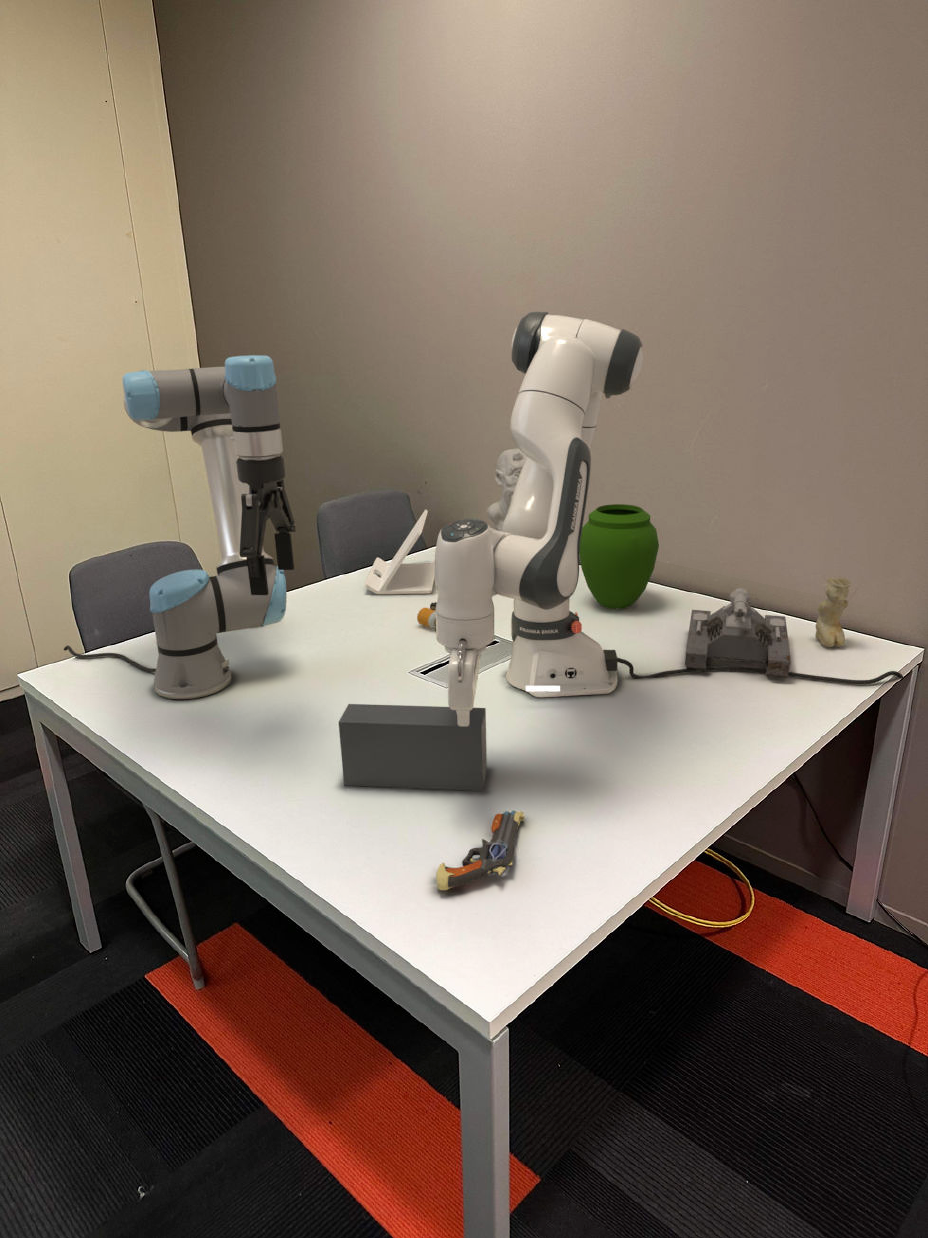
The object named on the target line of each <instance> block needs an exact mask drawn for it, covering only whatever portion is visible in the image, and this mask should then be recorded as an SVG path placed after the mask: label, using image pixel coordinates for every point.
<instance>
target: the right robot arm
mask: <svg viewBox="0 0 928 1238" xmlns="http://www.w3.org/2000/svg"><path fill="white" fill-rule="evenodd" d="M510 344H511V345H510V352H511V362H512V363H513V365H514V367H515V369H516V370H517V371H519V372H521V373H522V374H524V378H522V379H523V380H522V382H521V384H520V388H519V390H518V393H517V395H516V399H515V401H514V405H513V408H512V412H511V416H510V424H509V425H510V426H509V430H510V434H511V437H512V439H513V442H514V443H515V445H516V447H517V449H520V450H521V451H522V452H523V453H524V454H525V455H526V459H525V462H524V465H523V467H522V470H521V473H520V476H519V478H518V481H517V484H516V487H515V490H514V493H513V496H512V499H511V502H510V506H509V509H508V512H507V515H506V517H505V520H504V523H503V529H502V531H503V532H501V531H497V529H494V528H492V527H490V525H489V524H488V522H486V521H484V520H482V519H477V518H463V519H457V520H454V521H451V522H449V523H447V524H446V525H444V526H443V527H442V528H441V529H440V530H439V533H438V535H437V538H436V539H437V540H436V543H435V544H436V545H435V552H434V563H435V579H434V585H435V589H436V592H437V601H436V602H437V604H436V610H435V611H436V628H435V631H436V632H435V633H436V634H435V636H436V637H435V638H436V641H437V643H439V644H440V645H441V646H444V650H445V652H446V653H448V654H449V659H448V660H449V661H448V668H447V669H448V670H447V671H448V672H447V680H448V681H447V703H448V707H449V708H450V709H451V710H456V713H457V721H458V725H459V726H469V723H470V710H472V709H473V708H474V707H475V705H474V704H475V698H476V694H477V693H476V692H477V685H478V679H479V672H480V666H481V659H482V654H483V653H484V652H485V651H486V650H487V646H488V645H491V643H493V642H494V640H495V604H494V600H493V597H494V596H497V595H498V596H501V597H505V598H508V599H513V611H512V612H511V618H510V635H511V640H512V645H511V646H512V647H511V655H510V660H509V665H508V669H507V672H506V675H505V678H506V681H507V683H509V684H510V685H511V686H513V687H515V688H517V689H519V690H522V691H525V692H527V693H529V694H530V695H531V696H533V697H535V698H556V697H572V696H573V697H574V696H588V695H589V696H590V695H591V696H592V695H607V694H611V693H612V692H613V691H615V690H616V688H617V686H618V673H617V671H618V663H620V664H623V665H625V666H627V667H628V669H629V676H630V677H631V678H633V679H635V680H639V679H640V680H642V679H655V678H656V679H657V678H659V677H664V676H670V675H680V674H685V673H693V672H699V671H698V670H695V669H692V668H687V667H685V668H680V669H673V670H664V671H660V672H657V673H656V672H655V673H653V674H648V675H638V674H636V673H635V671H634V670H635V668H634V665H633V664H632V662H630V661H628V660H626V659H623V658H621V657H618V655H617V652H616V651H617V650H616V649H604V648H603V647H602V645H601V644H600V643H599V642H598V641H596V640H595V639H593V638H591V637H590V636H589V635H587V634H586V633H585V632H583V631H582V630H583V626H582V625H583V624H582V622H581V621H580V616H579V615H578V612H577V611H575V613H574V612H573V611H571V610H570V600H571V599H570V598H571V597H572V596H573V595H574V593H575V591H576V589H577V585H578V583H579V578H580V554H579V549H580V541H581V534H582V527H583V526H584V521H585V515H586V514H585V513H586V508H587V507H586V506H587V500H588V493H589V486H590V478H591V469H592V468H591V467H592V456H591V448H592V443H593V440H594V438H595V437H594V436H595V433H596V429H597V426H598V421H599V417H600V412H601V407H602V398H603V395H604V396H605V399H610V398H611V396H612V397H613V396H620V395H623V394H625V393H626V392H628V391H630V390H631V387H632V386H633V385H634V383H636V381H637V380H638V378H639V376H640V374H641V372H642V369H643V362H644V352H643V343H642V341H641V339H640V337H639V336H638V335H637V334H635V333H633V332H631V331H629V330H626V329H624V328H622V329H618V328H615V327H613V326H612V325H611V326H610V325H609V324H605V323H602V322H599V321H595V320H592V319H588V318H585V319H583V318H577V317H572V316H566V315H558V314H549V312H548V311H530V312H528V313H527V314H526V315H523V317H522V318H521V319H520V320H519V323H518V325H517V326H516V328H515V329H514V332H513V334H512V338H511V343H510ZM706 671H739V672H750V673H751V672H752V673H762V674H766V668H760V667H750V666H736V665H733V666H732V665H709V666H708V665H706V669H705V671H704V672H706ZM890 676H891V677H892V676H895V677H897V678H898V679H901V680H903V679H904V678H905V677H904V676H903V674H902V673H901V672H899V671H896V670H890V671H887V672H885V673H883V674H880V675H879V676H876V677H874V678H872V679H871V678H870V679H849V678H840V677H839V678H838V677H830V676H821V675H814V674H809V673H808V674H806V673H802V672H801V673H800V672H793V671H789V673H788V676H787V677H793V678H801V679H806V680H815V681H822V682H830V683H839V684H846V685H847V684H848V685H872V684H876V683H879V682H881V681H883V680H885V679H887V678H888V677H890Z"/></svg>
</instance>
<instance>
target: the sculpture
mask: <svg viewBox="0 0 928 1238" xmlns="http://www.w3.org/2000/svg"><path fill="white" fill-rule="evenodd" d="M826 581H827V586H826V588H825V590H824V593H825V595H826V596H827V598H826V600H824V601H822V602H821V603H820V604H819V605H818V606H817V609H816V610H817V612H818V614H819V616H818V617H817V619H816V623H815V630H816V631H815V634H814V635H815V639H817V640H819V642H820V643H821V644H822V645H823V646H825V647H827V648H832V647H834V646H835V647H843V646H844V645H845V643H846V642H845V641H846V636H845V632H844V630H843V626H842V624H841V622H840V621H841V617H842V615H843V612H844V610H845V609H846V608H847V606H848V604H849V603H848V602H849V601H847V598H848V597H849V592H850V586H851V585H852V582H850V580H848V579H847V578H845V577H841V576H840V577H835V578H831V577H827V578H826Z"/></svg>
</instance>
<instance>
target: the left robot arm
mask: <svg viewBox="0 0 928 1238" xmlns="http://www.w3.org/2000/svg"><path fill="white" fill-rule="evenodd" d="M277 381H278V380H277V375H276V373H275V366H274V361H273V359H272V358H271V357H270V356H269V355H260V354H257V355H256V354H255V355H253V354H252V355H237V356H230V357H227V358H226V359H225V361H224V366H212V367H210V366H209V367H197V368H196V367H195V368H194V367H193V368H183V369H161V370H146V369H144V370H138V371H131V372H126V373H124V375H123V376H122V386H123V387H122V388H123V394H124V396H123V406H124V410H125V412H126V414H127V416H128V417H129V418H130V420H132V422H133V423H135V424H137V425H138V426H140V427H142V428H146V429H150V430H153V431H159V432H166V433H167V432H169V433H176V432H177V433H178V432H190V435H191V439H192V441H193V442H195V443H196V444H197V445H198V446H200V447H201V451H202V456H203V461H204V468H205V473H206V478H207V483H208V490H209V494H210V498H211V504H212V505H211V506H212V509H213V515H214V521H215V527H216V531H217V537H218V541H219V542H218V543H219V548H220V553H221V560H220V561H219V563H218V564H217V565H216V573H217V575H214V576H213V575H212V576H210V575H209V574H208V572H207V571H206V570H204V569H197V568H196V569H186V570H181V571H177V572H173V573H171V574H168V575H165V576H163V577H161V578H160V579H157V580H156V581H155V582H154V583H153V584H152V585H151V586H150V588H149V591H148V593H149V605H150V606H149V611H150V612H151V614H152V621H153V626H154V632H155V640H156V646H157V652H158V656H157V661H156V666H155V668H149V667H146V666H144V665H142V664H140V663H138V662H137V661H135V660H132V659H131V658H129V657H127V656H126V655H124V654H121V653H117V652H101V653H100V652H99V653H90V654H89V653H88V654H81V653H77V652H75V651H74V650H73V648H72V647H71V646H70V645H65V647H64V648H63V651H66V652H67V651H68V652H69V653H70V654H71V655H72V656H74V658H75V657H76V658H78V659H80V658H81V659H91V658H101V657H116V658H120V659H122V660H124V661H126V662H127V663H129V664H131V665H133V666H136V667H137V668H139V669H140V670H142V671H145V672H148V673H154V677H153V686H154V691H155V693H156V694H157V695H159V696H160V697H163V698H165V699H169V700H193V699H199V698H203V697H207V696H211V695H213V694H215V693H218V692H220V691H222V690H224V689H225V688H226V687H228V686H229V685H230V684H231V682H232V671H231V668H230V660H229V659H226V658H225V656H224V654H223V652H222V651H221V649H220V647H219V643H218V636H217V634H222V633H229V632H233V631H241V630H246V629H252V628H258V627H261V628H264V627H265V626H269V625H273V624H277V623H280V622H281V621H282V620H283V619H284V617H285V615H286V611H287V594H288V593H287V580H286V576H285V571H294V570H295V562H294V552H293V542H292V534H291V533H296V525H295V519H294V516H293V512H292V509H291V505H290V502H289V499H288V496H287V493H286V487H285V478H286V467H285V457H283V456H282V455H281V454H282V453H283V452H284V445H283V437H282V435H283V434H282V427H281V423H280V411H279V403H278V391H277ZM269 520H270V521H271V523H272V525H273V527H274V529H275V532H276V533H274V543H275V553H276V562H277V565H275V562H274V557H273V556H271V555H270V554H268V553H266V551H265V549H264V541H265V534H266V526H267V521H269Z"/></svg>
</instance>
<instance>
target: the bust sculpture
mask: <svg viewBox="0 0 928 1238" xmlns="http://www.w3.org/2000/svg"><path fill="white" fill-rule="evenodd" d="M525 459H526V455H525V454H524V453H523V452H522V451H521V450H520V449H519V448H512V449H506V450H504V451H502V452H501V454H500V455H499V457H498V459H497V461H496V468H495V471H494V480H495V482H496V484H497V486H498V487H501V488H502V494H501V497H500V499H499V501H496V502H494V503H492V504H491V505H490V506H488V508H487V509H486V513H485V514H486V517H487V518H488V519H489V520H490V522H491V523H492V524H493V526H494V527H495V530H497V531H501V532H503V531H502V529H503V523H504V520H505V517H506V515H507V512H508V509H509V506H510V502H511V499H512V496H513V493H514V490H515V487H516V484H517V481H518V478H519V476H520V473H521V470H522V467H523V465H524V462H525Z"/></svg>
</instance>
